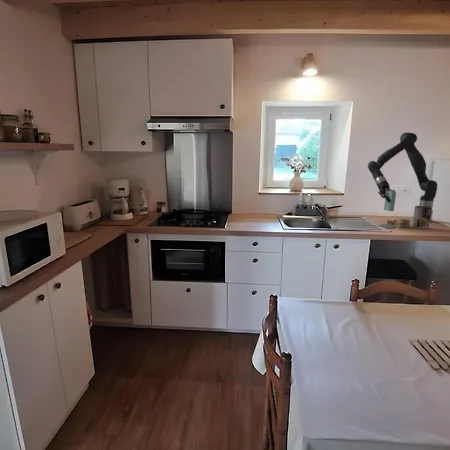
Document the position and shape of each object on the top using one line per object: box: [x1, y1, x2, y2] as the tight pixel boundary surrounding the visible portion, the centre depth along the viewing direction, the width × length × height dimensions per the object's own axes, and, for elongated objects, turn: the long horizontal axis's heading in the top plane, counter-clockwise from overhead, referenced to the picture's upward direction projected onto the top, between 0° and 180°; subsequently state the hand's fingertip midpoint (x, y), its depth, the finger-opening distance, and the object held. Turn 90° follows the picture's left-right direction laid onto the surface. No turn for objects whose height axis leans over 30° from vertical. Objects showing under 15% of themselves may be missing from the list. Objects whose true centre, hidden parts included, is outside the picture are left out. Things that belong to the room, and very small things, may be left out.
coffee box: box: [412, 205, 433, 230], centre depth 239 cm, size 9×6×16 cm
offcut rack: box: [386, 217, 411, 229], centre depth 247 cm, size 10×14×6 cm
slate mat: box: [377, 223, 397, 230], centre depth 243 cm, size 8×10×1 cm
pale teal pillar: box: [383, 191, 397, 212], centre depth 239 cm, size 4×6×14 cm, turn 16°
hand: (391, 201), depth 237 cm, fingers closed on pale teal pillar, 3 cm apart
